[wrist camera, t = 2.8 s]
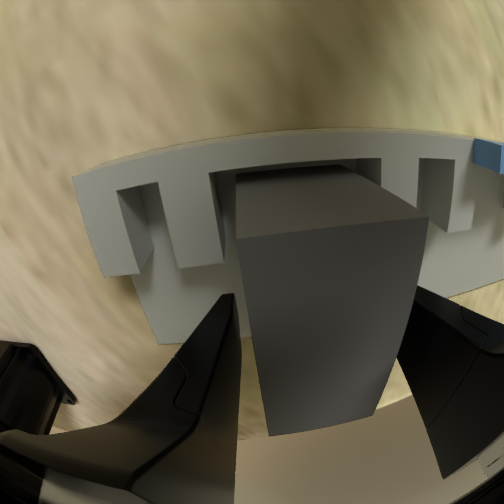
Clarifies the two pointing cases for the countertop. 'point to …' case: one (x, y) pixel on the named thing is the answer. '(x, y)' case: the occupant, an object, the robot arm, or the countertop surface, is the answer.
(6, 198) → the countertop surface
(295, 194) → the dark grey knobbed block
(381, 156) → the grey toothed rack
